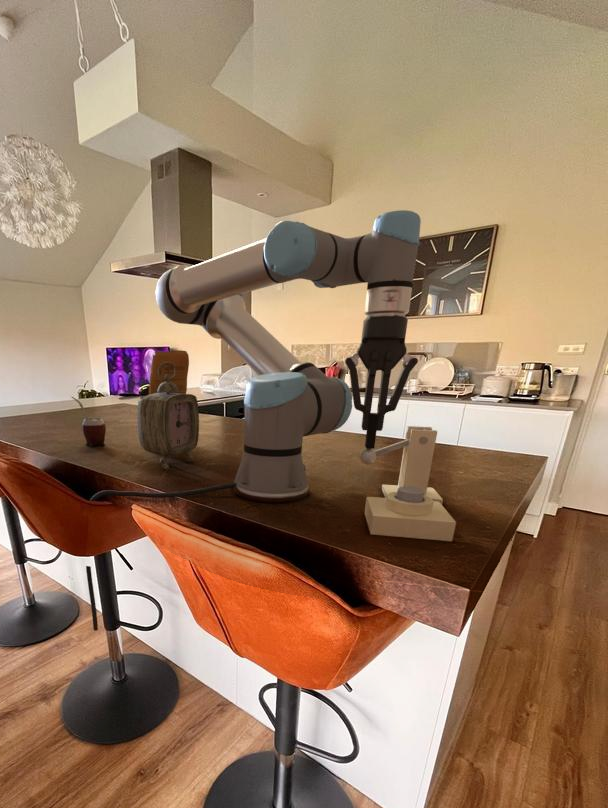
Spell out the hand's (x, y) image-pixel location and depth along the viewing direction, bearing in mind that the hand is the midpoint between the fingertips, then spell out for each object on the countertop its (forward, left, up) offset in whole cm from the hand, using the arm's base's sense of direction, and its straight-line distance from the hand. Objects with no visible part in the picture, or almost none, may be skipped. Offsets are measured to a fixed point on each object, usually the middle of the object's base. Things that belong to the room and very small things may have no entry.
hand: (369, 447), depth 83 cm
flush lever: (+5, 0, -1) cm, 5 cm away
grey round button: (+5, -17, -5) cm, 18 cm away
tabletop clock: (-47, +14, -10) cm, 50 cm away
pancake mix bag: (-54, +35, -10) cm, 65 cm away
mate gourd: (-78, +32, -10) cm, 85 cm away
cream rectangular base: (+5, -17, -10) cm, 20 cm away
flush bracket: (+9, 0, -10) cm, 13 cm away
